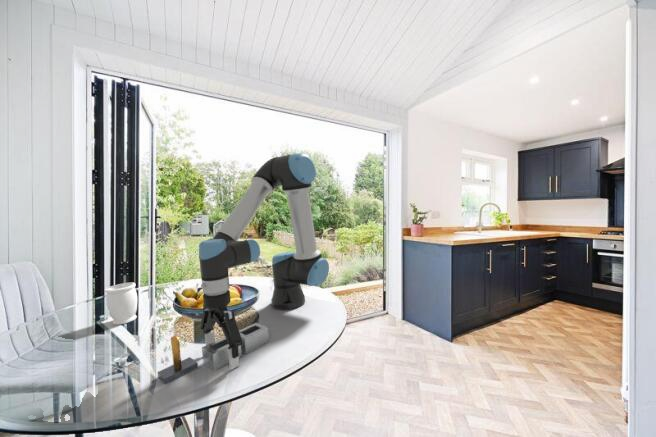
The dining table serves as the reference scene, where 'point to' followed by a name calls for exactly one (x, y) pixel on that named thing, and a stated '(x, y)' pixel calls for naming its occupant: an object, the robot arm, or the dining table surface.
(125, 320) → the jar
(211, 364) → the grey rectangular block
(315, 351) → the dining table surface
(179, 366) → the grey base with post
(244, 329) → the grey slotted holder
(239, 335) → the robot arm
